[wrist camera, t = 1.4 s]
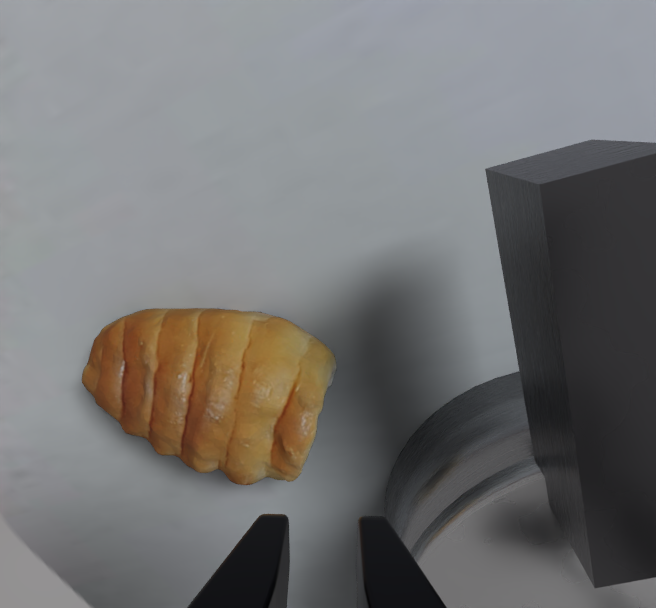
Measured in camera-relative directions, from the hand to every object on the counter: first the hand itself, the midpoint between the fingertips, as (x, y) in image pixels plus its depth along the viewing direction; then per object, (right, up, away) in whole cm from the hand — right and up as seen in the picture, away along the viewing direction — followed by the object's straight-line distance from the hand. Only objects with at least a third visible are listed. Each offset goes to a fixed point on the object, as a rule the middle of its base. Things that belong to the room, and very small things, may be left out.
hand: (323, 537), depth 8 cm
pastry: (-4, 0, +14) cm, 14 cm away
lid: (+8, -3, +9) cm, 13 cm away
